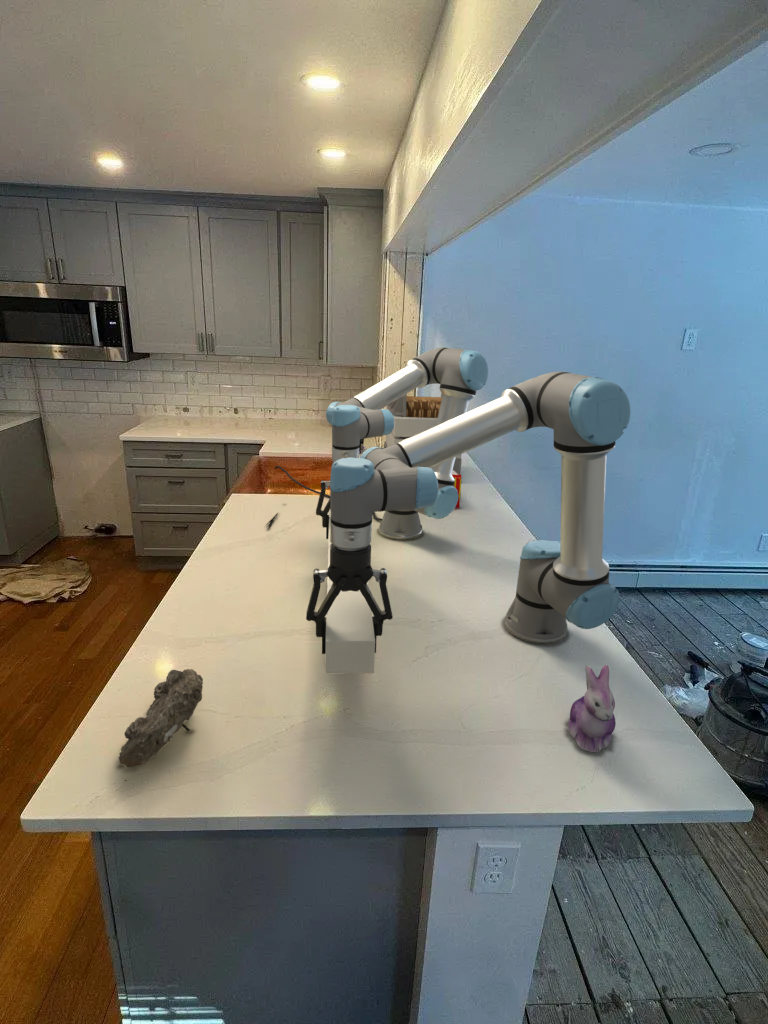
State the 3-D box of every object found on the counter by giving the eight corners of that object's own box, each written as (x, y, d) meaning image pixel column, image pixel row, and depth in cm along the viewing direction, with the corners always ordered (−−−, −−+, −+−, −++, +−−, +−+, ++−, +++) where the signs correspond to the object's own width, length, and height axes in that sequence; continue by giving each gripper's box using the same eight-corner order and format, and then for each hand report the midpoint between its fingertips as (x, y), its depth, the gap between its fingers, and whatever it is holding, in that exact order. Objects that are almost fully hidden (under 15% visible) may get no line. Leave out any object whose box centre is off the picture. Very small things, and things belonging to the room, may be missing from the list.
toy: (454, 466, 253) (465, 475, 223) (452, 495, 255) (463, 509, 226) (427, 465, 252) (435, 474, 223) (425, 494, 255) (433, 508, 226)
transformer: (382, 463, 289) (386, 382, 275) (445, 464, 293) (451, 384, 279) (390, 482, 257) (394, 392, 243) (460, 483, 261) (468, 394, 247)
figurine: (594, 762, 101) (608, 692, 96) (553, 726, 109) (565, 660, 104) (630, 746, 105) (646, 678, 100) (588, 712, 114) (601, 648, 109)
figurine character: (364, 456, 305) (364, 447, 319) (364, 443, 302) (364, 434, 315) (351, 456, 305) (352, 446, 318) (351, 443, 302) (352, 434, 315)
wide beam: (329, 530, 171) (329, 509, 168) (358, 530, 172) (359, 509, 169) (325, 673, 104) (325, 641, 102) (374, 672, 105) (375, 641, 102)
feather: (285, 507, 224) (287, 503, 224) (267, 531, 198) (270, 526, 197) (281, 504, 224) (284, 500, 223) (263, 528, 197) (265, 524, 197)
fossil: (153, 670, 114) (204, 637, 109) (187, 701, 117) (238, 670, 112) (92, 760, 94) (152, 726, 89) (135, 795, 97) (195, 763, 92)
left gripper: (305, 465, 152) (306, 542, 160) (385, 466, 155) (382, 542, 162) (306, 458, 159) (307, 532, 167) (383, 459, 162) (380, 532, 169)
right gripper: (289, 552, 98) (291, 662, 106) (412, 551, 101) (406, 659, 108) (291, 535, 105) (293, 639, 113) (407, 535, 108) (401, 637, 115)
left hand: (344, 537), depth 165 cm, fingers closed on wide beam, 9 cm apart
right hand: (348, 649), depth 111 cm, fingers closed on wide beam, 9 cm apart
